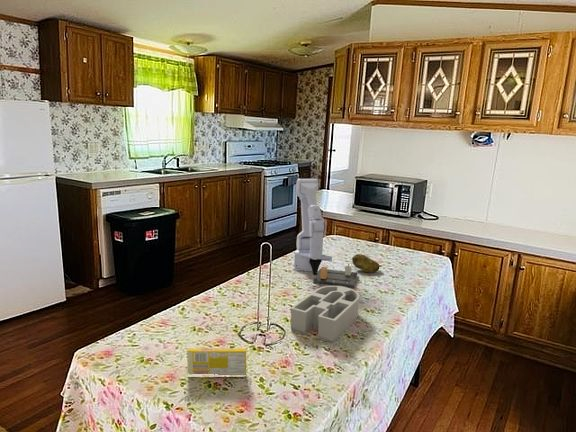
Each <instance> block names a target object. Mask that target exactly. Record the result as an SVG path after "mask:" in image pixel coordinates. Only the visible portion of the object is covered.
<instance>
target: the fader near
mask: <svg viewBox="0 0 576 432" xmlns="http://www.w3.org/2000/svg"><path fill="white" fill-rule="evenodd" d="M320 269H321V277H320V279H326V278H327V269H328V267H327V266H321V268H320Z"/></svg>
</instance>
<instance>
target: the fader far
mask: <svg viewBox="0 0 576 432" xmlns="http://www.w3.org/2000/svg"><path fill="white" fill-rule="evenodd" d="M352 264H353V263H352ZM352 264H351V263H345V267H344V269H345V270H344V271H345V275H349V276H350V275H351V272H352Z"/></svg>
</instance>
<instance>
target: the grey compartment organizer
mask: <svg viewBox="0 0 576 432" xmlns="http://www.w3.org/2000/svg"><path fill="white" fill-rule="evenodd" d="M360 296H361V295H360V293H358V291H356V290H355V289H354V288H348V287H343V286H331V285H324V286H321V287H319V288H316V289H315V290H314V291H312V292H310V293H309V294H308V295H307V296H305V297H304V298H303V299H301V300H300V301H298V302H297V303H295V304H294V305H293V306H291V307H290V329H291V331H292V332H295V333H298V334H302V335H307V333H308V332H309V331H310V330H312V329H317V330H318V334H317V337H318V339H319V340H321V341H324V342H327V343H330V344H334V343H335V342H336V341H337V340H338V339H339V338H340V337H341V336H342V335H343V333H345V332H346V331H347V330H348V329H349V328H350V327H351V325H353V323H355V322H356V321H357V318H358V316H359V307H360V305H359V304H360Z"/></svg>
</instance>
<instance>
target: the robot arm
mask: <svg viewBox="0 0 576 432" xmlns="http://www.w3.org/2000/svg"><path fill="white" fill-rule="evenodd" d="M319 184H320V183H319V179H318V178H297V179H296V184H295V189H296V196H297V198H299V199H300V210H301V211H300V213H301V215H300V216H301V231H300V232H299V233H298V234H297V236H296V242H295V243H296V250H295V252H294V259H293V260H294V264H293V265H294V267H293V270H295V271H296V270H297V271H303V270H304V271H303V272H312V275H313V276H314V277H315V276H316V275H317V273H318V271H319V269H320V266H321V263H322V261H327V262H331V263H332V262H333V256H331V255H330V256H329V255H326V254H323V253H324V251H323V249H324V248H323V247H324V233H325V232H326V230H327V229H326V228H327V227H326V226H327V225H326V220H325V219H324V217H323V216H322V211H321V207H320V206H319V205H317V204H318V203H317V195H316V194H317V193H318V190H319Z"/></svg>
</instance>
